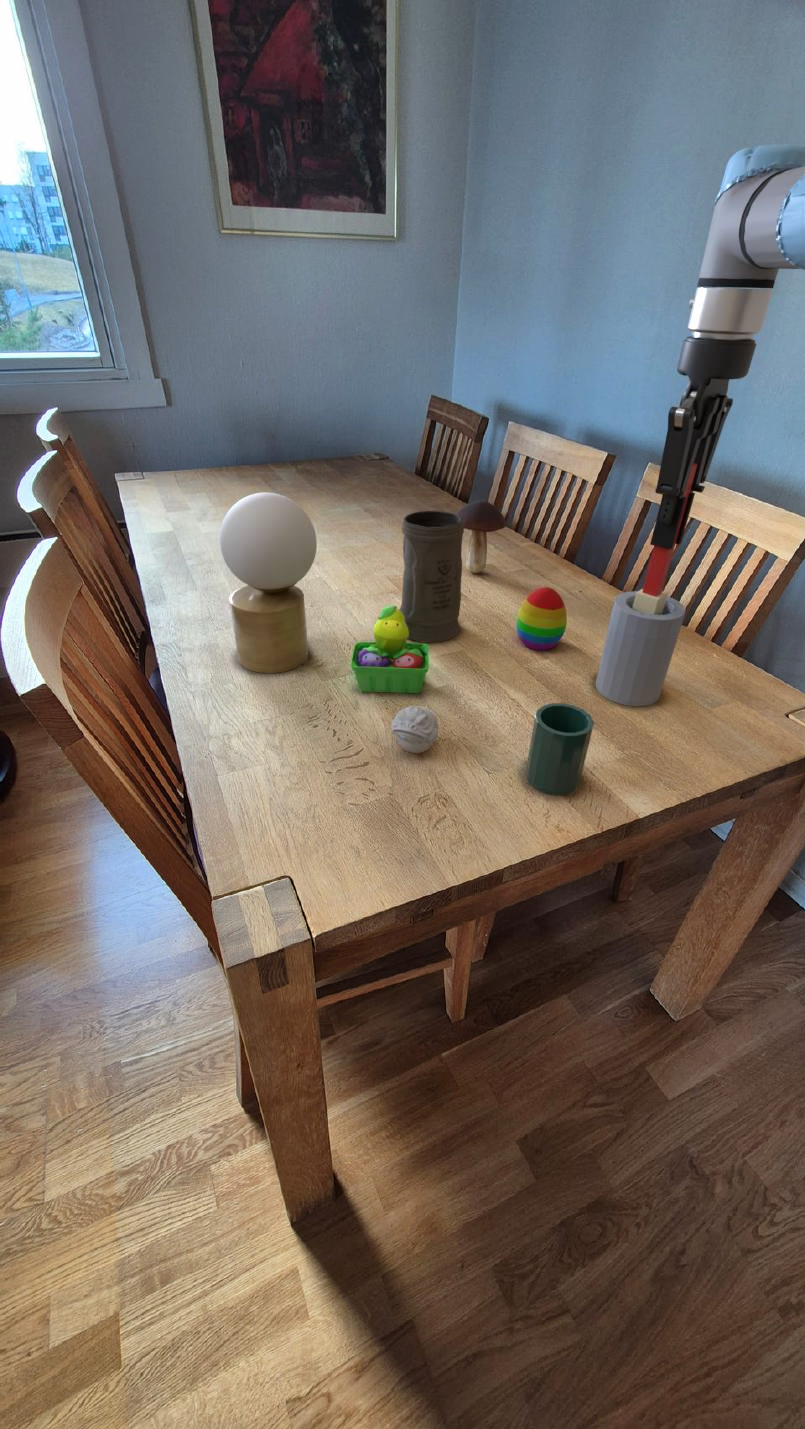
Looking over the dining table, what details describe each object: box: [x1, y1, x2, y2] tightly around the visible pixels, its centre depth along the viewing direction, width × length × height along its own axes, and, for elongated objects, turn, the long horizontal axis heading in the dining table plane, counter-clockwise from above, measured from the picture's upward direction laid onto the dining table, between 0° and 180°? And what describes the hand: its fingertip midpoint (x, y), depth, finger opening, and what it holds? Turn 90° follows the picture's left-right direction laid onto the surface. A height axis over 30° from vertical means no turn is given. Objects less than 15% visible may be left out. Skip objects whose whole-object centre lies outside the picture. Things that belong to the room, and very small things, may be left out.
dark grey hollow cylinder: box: [399, 510, 465, 643], centre depth 107 cm, size 15×11×20 cm
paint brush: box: [632, 463, 697, 615], centre depth 83 cm, size 3×3×22 cm
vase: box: [595, 590, 687, 707], centre depth 91 cm, size 9×9×14 cm
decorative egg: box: [516, 586, 568, 651], centre depth 104 cm, size 8×8×10 cm
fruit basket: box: [349, 605, 430, 694], centre depth 93 cm, size 11×9×11 cm
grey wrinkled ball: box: [390, 705, 439, 754], centre depth 80 cm, size 6×7×7 cm
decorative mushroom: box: [455, 499, 507, 574], centre depth 128 cm, size 11×11×15 cm
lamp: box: [219, 492, 318, 674], centre depth 96 cm, size 15×14×25 cm
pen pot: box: [525, 702, 595, 796], centre depth 75 cm, size 7×7×9 cm
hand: (665, 543), depth 82 cm, fingers closed on paint brush, 2 cm apart
